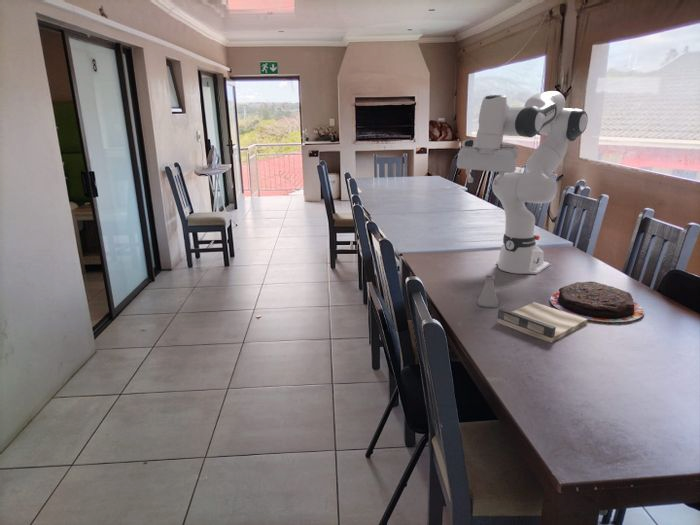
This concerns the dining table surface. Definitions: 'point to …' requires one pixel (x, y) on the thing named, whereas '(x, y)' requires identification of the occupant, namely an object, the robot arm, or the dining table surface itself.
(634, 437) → the dining table surface
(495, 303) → the flask
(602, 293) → the chocolate cake
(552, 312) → the shelf board
